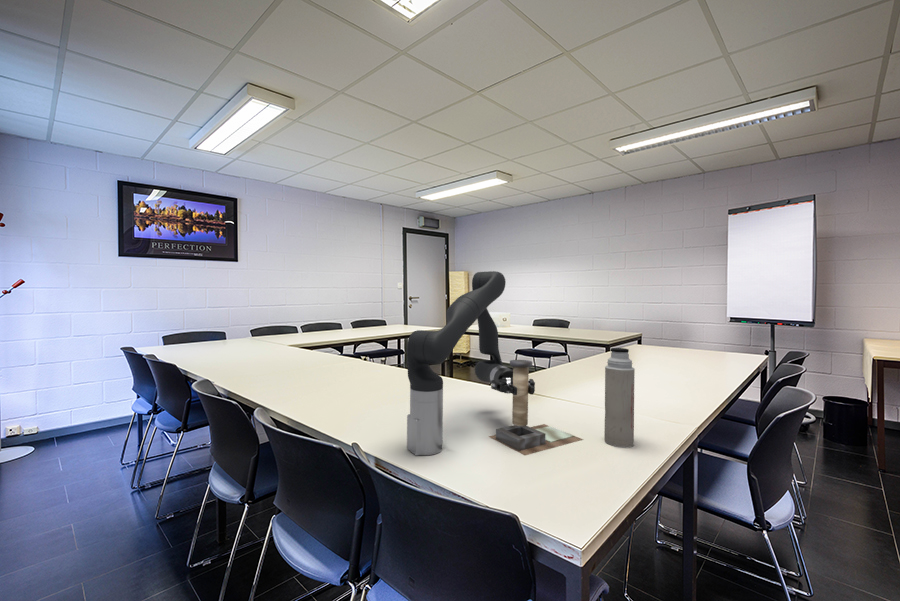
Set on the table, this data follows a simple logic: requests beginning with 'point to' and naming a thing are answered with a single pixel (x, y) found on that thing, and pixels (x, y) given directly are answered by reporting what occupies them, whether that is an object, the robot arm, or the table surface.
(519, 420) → the wheel post
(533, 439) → the board
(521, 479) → the table surface
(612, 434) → the thermos bottle
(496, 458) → the table surface
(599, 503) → the table surface
